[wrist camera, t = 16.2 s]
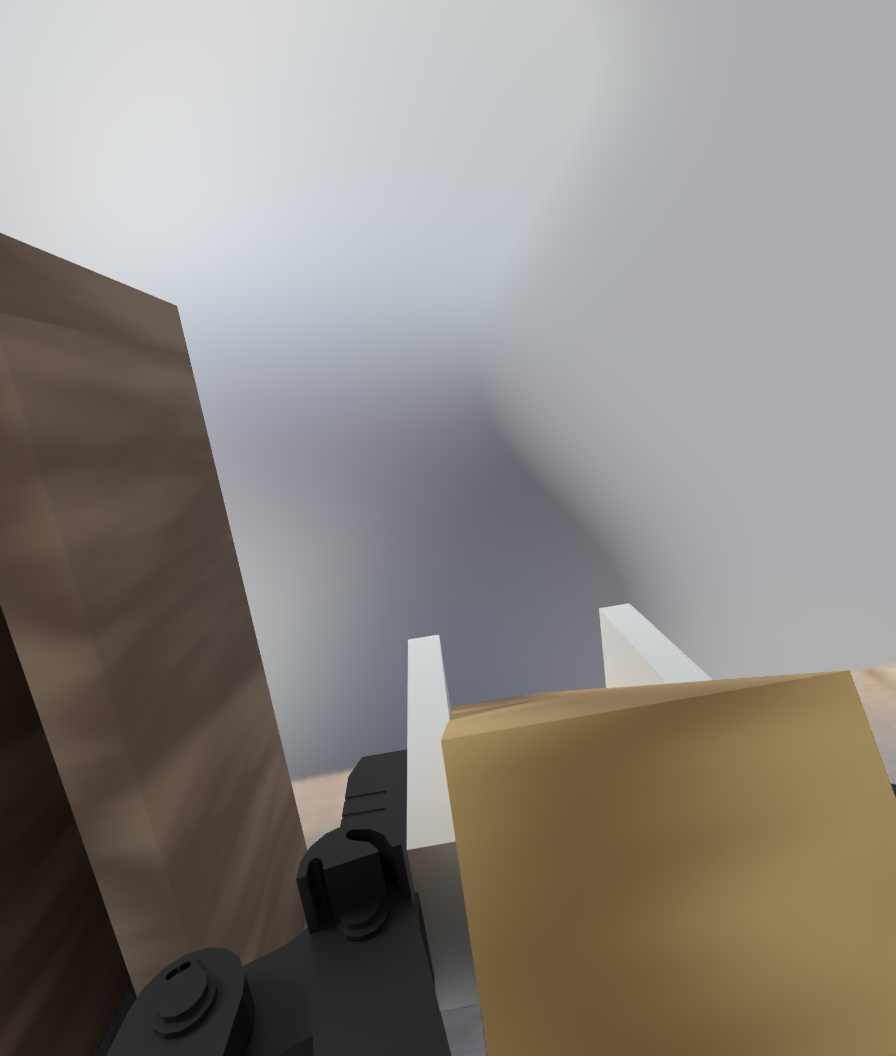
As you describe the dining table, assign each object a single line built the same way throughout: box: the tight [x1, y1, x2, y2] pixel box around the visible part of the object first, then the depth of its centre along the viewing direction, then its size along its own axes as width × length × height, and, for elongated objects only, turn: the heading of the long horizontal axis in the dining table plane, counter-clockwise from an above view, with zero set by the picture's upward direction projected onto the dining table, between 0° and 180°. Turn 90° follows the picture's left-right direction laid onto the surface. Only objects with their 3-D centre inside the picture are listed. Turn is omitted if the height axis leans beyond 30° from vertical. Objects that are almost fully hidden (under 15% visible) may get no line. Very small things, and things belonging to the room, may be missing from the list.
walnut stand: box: [0, 233, 307, 1056], centre depth 22 cm, size 10×12×30 cm
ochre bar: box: [441, 671, 896, 1056], centre depth 15 cm, size 4×22×4 cm, turn 4°
